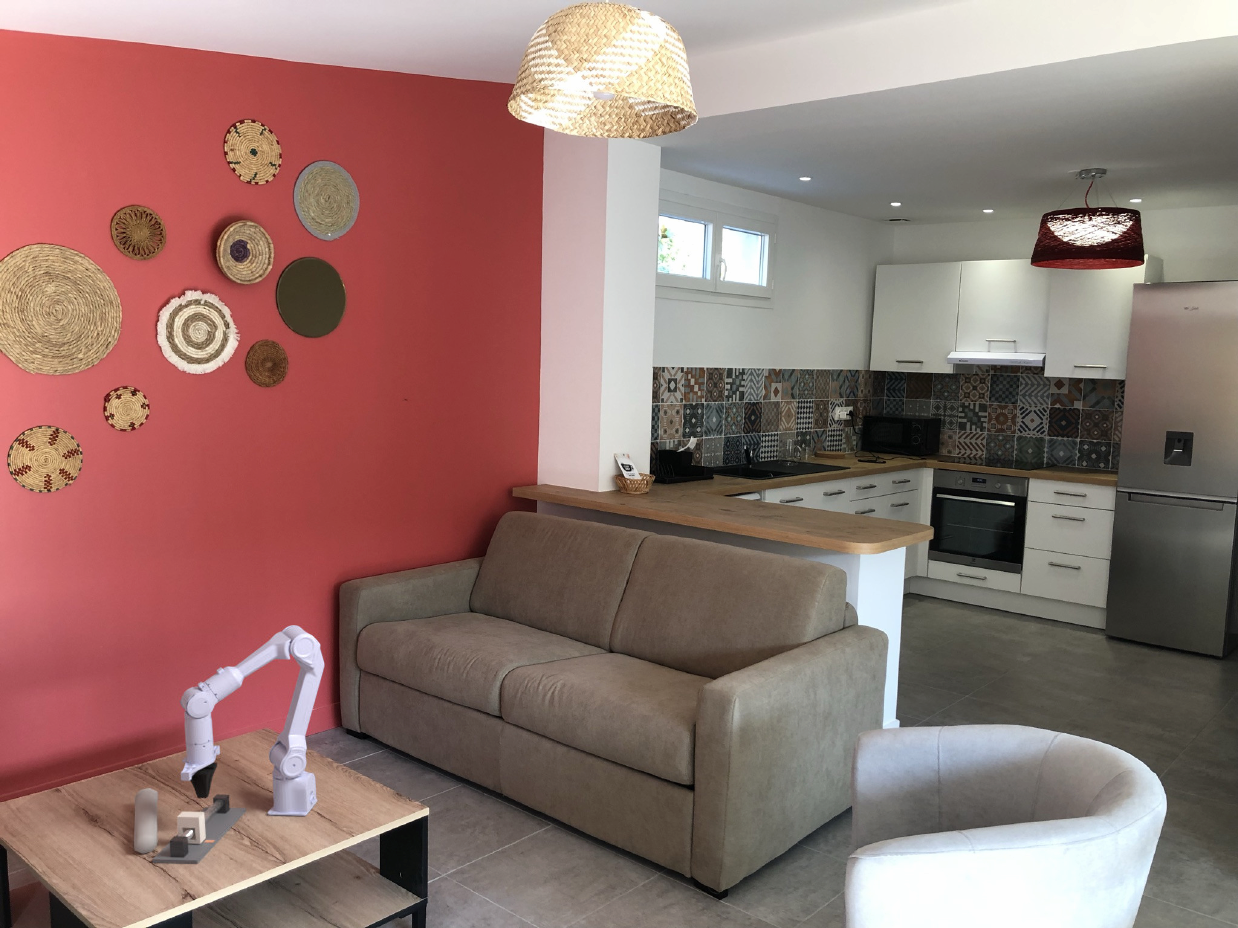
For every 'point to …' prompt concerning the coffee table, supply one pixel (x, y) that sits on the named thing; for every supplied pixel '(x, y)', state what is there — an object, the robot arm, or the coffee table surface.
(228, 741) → the coffee table surface
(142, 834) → the tube
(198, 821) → the collar
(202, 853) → the rod board
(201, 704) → the robot arm
